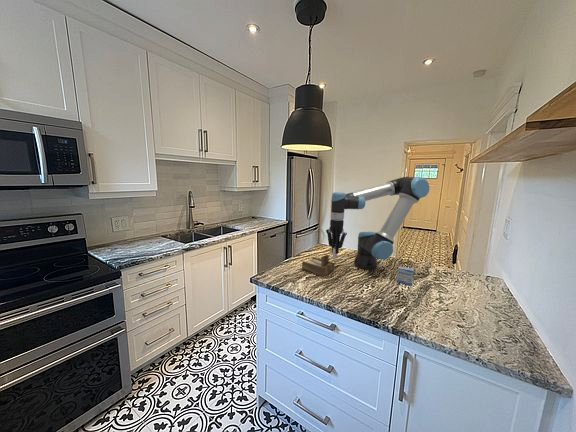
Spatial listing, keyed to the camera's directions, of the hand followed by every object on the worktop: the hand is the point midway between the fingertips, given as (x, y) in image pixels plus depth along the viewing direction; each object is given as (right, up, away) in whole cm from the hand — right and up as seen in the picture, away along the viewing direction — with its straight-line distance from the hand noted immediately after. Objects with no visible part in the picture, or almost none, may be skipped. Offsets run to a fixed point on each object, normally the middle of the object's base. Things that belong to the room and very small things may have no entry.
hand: (334, 258), depth 145 cm
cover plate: (-9, -6, +9) cm, 14 cm away
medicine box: (+39, -13, -5) cm, 41 cm away
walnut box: (-9, -9, +10) cm, 16 cm away
